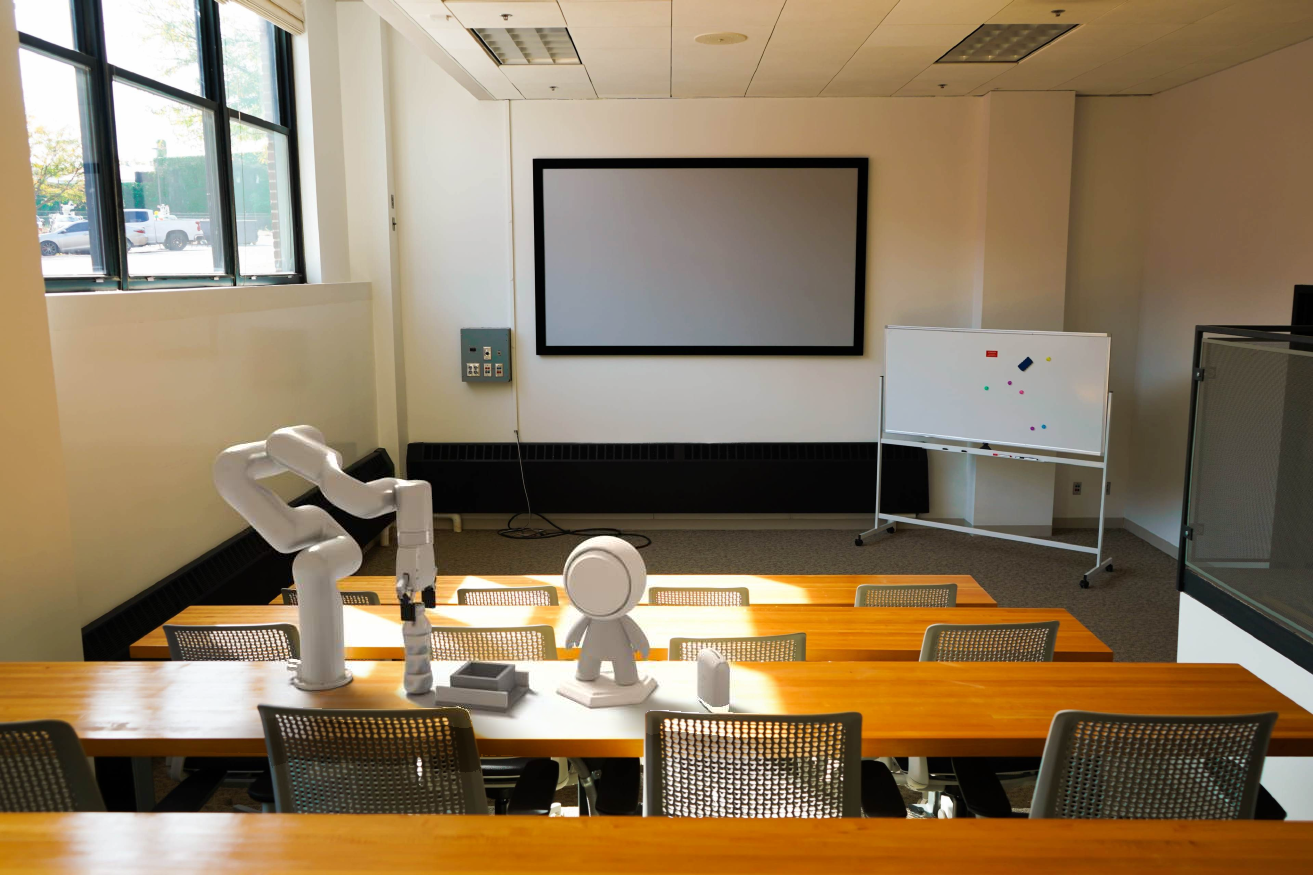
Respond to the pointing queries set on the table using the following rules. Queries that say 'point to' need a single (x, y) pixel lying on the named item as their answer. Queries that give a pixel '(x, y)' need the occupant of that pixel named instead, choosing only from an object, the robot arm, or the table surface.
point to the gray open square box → (484, 686)
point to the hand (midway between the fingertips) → (418, 614)
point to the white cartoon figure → (606, 623)
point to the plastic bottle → (417, 652)
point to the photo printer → (713, 678)
